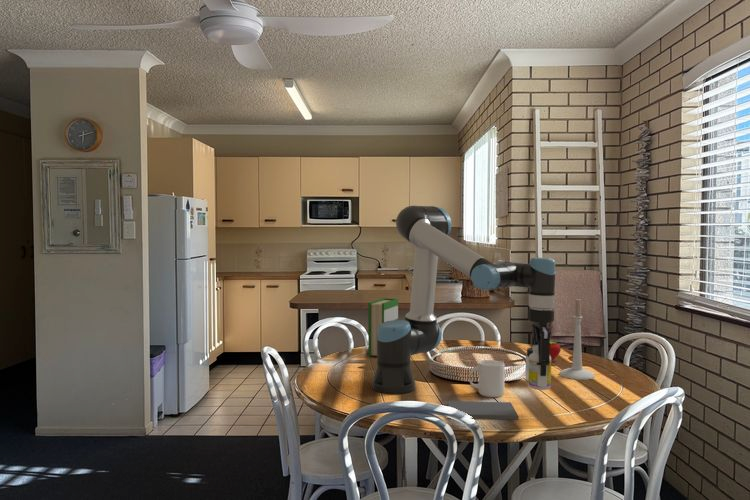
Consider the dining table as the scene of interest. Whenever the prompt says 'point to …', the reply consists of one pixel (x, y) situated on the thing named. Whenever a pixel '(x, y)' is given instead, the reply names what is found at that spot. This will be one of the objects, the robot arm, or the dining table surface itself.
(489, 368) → the mug
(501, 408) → the mat
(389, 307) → the hardback book
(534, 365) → the supplement bottle
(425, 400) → the dining table surface
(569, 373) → the candlestick
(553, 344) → the strawberry
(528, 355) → the jar
